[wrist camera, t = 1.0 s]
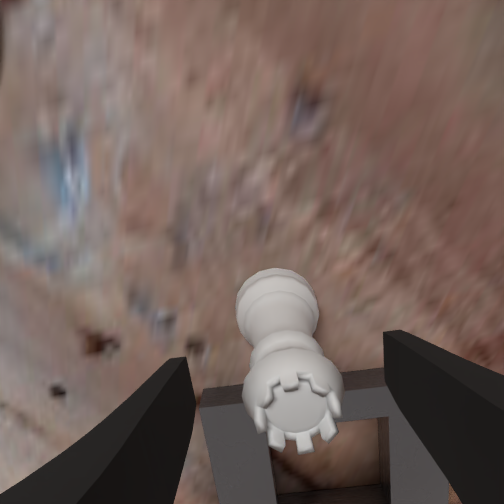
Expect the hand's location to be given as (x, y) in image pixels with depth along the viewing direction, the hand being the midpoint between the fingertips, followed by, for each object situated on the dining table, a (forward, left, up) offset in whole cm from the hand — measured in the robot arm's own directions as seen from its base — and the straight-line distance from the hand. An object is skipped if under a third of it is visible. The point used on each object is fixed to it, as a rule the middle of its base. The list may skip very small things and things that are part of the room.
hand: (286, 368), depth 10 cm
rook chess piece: (0, 0, -6) cm, 6 cm away
